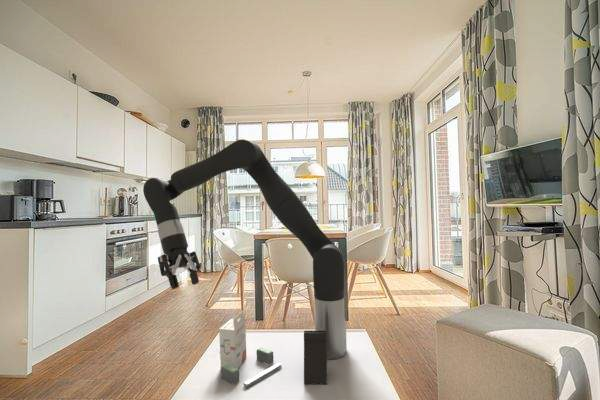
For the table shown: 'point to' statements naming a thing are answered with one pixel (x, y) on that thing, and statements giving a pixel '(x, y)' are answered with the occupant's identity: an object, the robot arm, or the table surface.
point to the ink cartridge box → (233, 341)
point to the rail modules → (232, 373)
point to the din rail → (262, 375)
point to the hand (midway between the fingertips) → (186, 285)
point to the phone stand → (315, 357)
